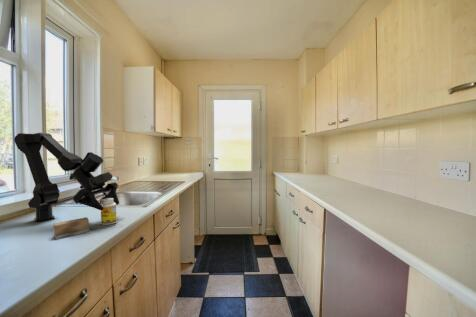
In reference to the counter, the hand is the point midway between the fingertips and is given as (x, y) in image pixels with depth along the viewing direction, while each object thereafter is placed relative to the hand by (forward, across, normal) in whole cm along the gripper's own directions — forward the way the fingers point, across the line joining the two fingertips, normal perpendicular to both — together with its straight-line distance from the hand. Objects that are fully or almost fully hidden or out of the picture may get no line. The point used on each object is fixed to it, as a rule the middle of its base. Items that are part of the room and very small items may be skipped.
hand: (110, 206), depth 94 cm
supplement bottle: (+4, 0, +6) cm, 7 cm away
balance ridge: (+1, -12, +9) cm, 16 cm away
